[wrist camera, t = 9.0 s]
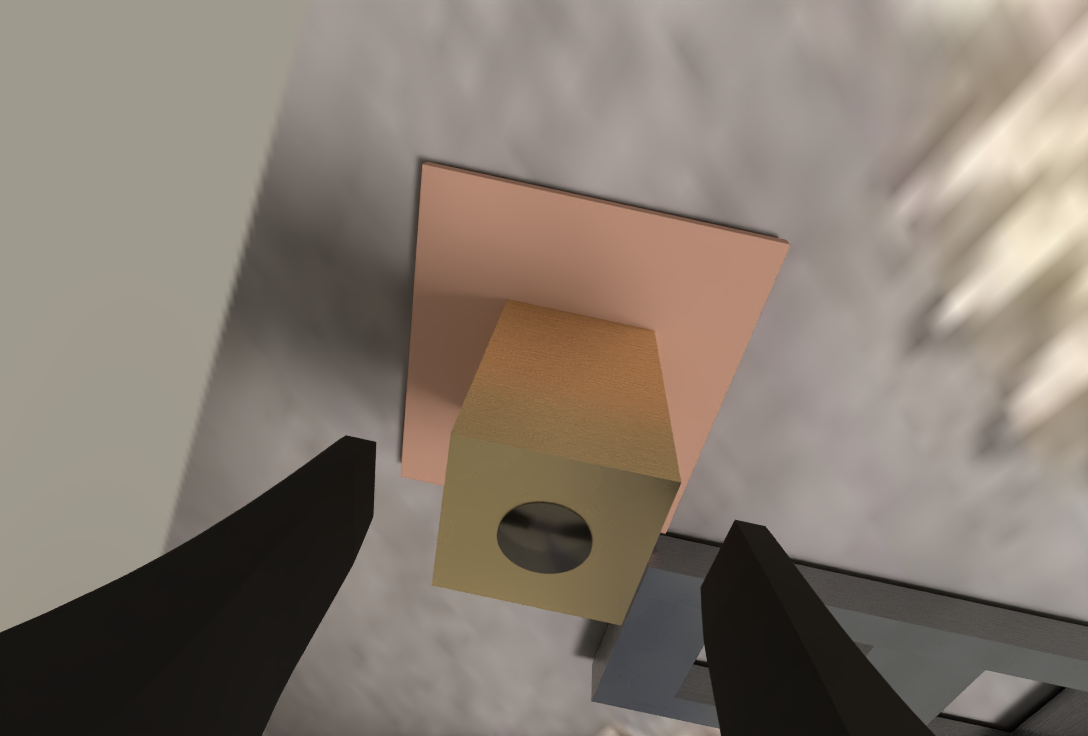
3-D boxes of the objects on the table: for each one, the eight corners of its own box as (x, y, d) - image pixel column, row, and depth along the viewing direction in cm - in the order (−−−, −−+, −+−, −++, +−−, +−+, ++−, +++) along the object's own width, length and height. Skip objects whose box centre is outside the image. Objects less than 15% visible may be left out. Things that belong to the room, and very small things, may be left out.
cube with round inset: (616, 446, 16) (621, 627, 11) (487, 418, 16) (431, 587, 11) (654, 330, 14) (681, 484, 9) (507, 298, 14) (450, 434, 9)
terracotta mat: (664, 524, 18) (665, 533, 18) (404, 468, 18) (400, 476, 18) (785, 239, 13) (790, 244, 13) (427, 161, 13) (422, 164, 13)
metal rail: (1057, 763, 23) (1085, 806, 21) (592, 664, 22) (591, 701, 21) (1211, 653, 19) (1257, 697, 17) (645, 531, 18) (648, 567, 17)
